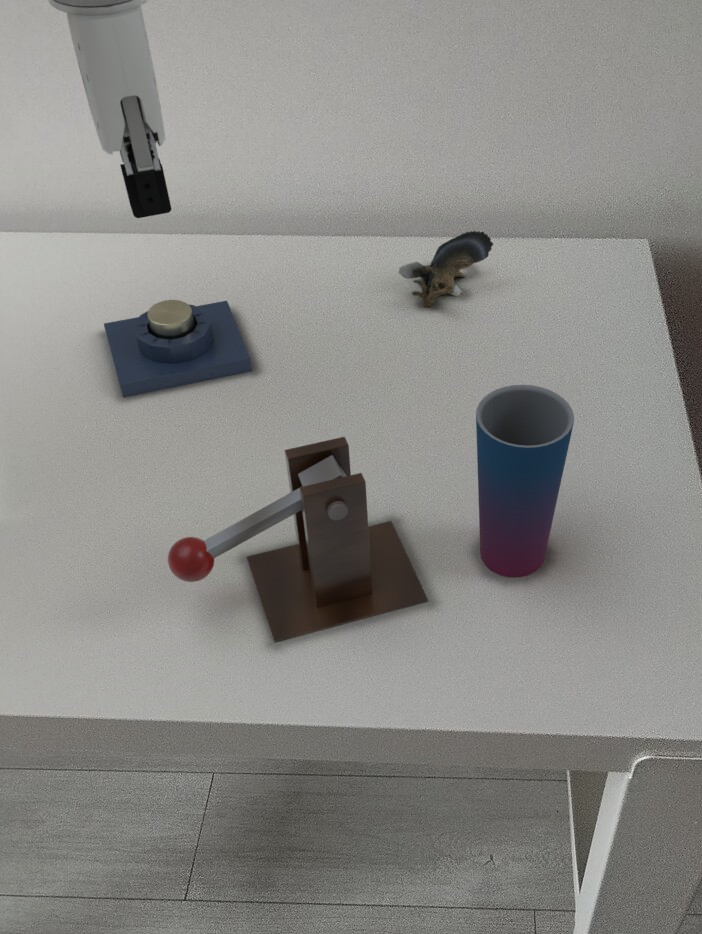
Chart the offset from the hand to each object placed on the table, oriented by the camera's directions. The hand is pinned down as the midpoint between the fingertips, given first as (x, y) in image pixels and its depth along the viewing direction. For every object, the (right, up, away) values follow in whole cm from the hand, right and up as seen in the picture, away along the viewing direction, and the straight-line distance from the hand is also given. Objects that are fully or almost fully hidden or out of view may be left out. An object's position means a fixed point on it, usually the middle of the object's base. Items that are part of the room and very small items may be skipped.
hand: (151, 210), depth 89 cm
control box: (-1, -10, +11) cm, 15 cm away
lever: (+12, -29, -14) cm, 34 cm away
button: (-1, -8, +9) cm, 12 cm away
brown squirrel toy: (+25, -2, +19) cm, 32 cm away
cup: (+30, -30, -5) cm, 43 cm away
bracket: (+17, -32, -7) cm, 37 cm away
